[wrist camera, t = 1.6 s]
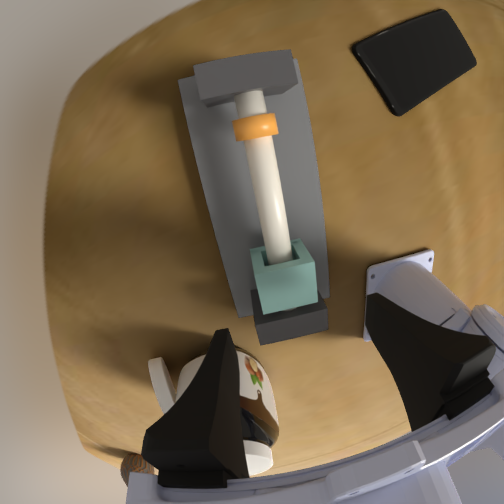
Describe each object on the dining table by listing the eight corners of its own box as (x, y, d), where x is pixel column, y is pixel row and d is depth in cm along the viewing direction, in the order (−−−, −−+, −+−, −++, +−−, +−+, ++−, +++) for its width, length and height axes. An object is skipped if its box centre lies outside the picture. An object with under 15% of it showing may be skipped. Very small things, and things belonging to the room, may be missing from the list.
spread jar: (279, 380, 29) (297, 469, 18) (199, 407, 30) (197, 487, 20) (223, 312, 24) (223, 428, 13) (134, 352, 25) (108, 446, 15)
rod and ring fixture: (325, 289, 24) (347, 329, 19) (238, 309, 24) (241, 354, 19) (292, 62, 16) (315, 40, 11) (180, 83, 16) (162, 65, 11)
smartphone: (350, 46, 15) (445, 7, 12) (346, 48, 15) (440, 9, 12) (398, 119, 17) (479, 64, 14) (393, 119, 18) (474, 65, 15)
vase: (154, 465, 41) (151, 498, 33) (123, 457, 39) (118, 490, 32) (156, 456, 38) (153, 493, 30) (122, 447, 37) (116, 484, 29)
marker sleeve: (304, 274, 20) (318, 301, 17) (257, 284, 20) (263, 314, 17) (300, 238, 19) (314, 261, 16) (249, 249, 19) (254, 274, 16)
